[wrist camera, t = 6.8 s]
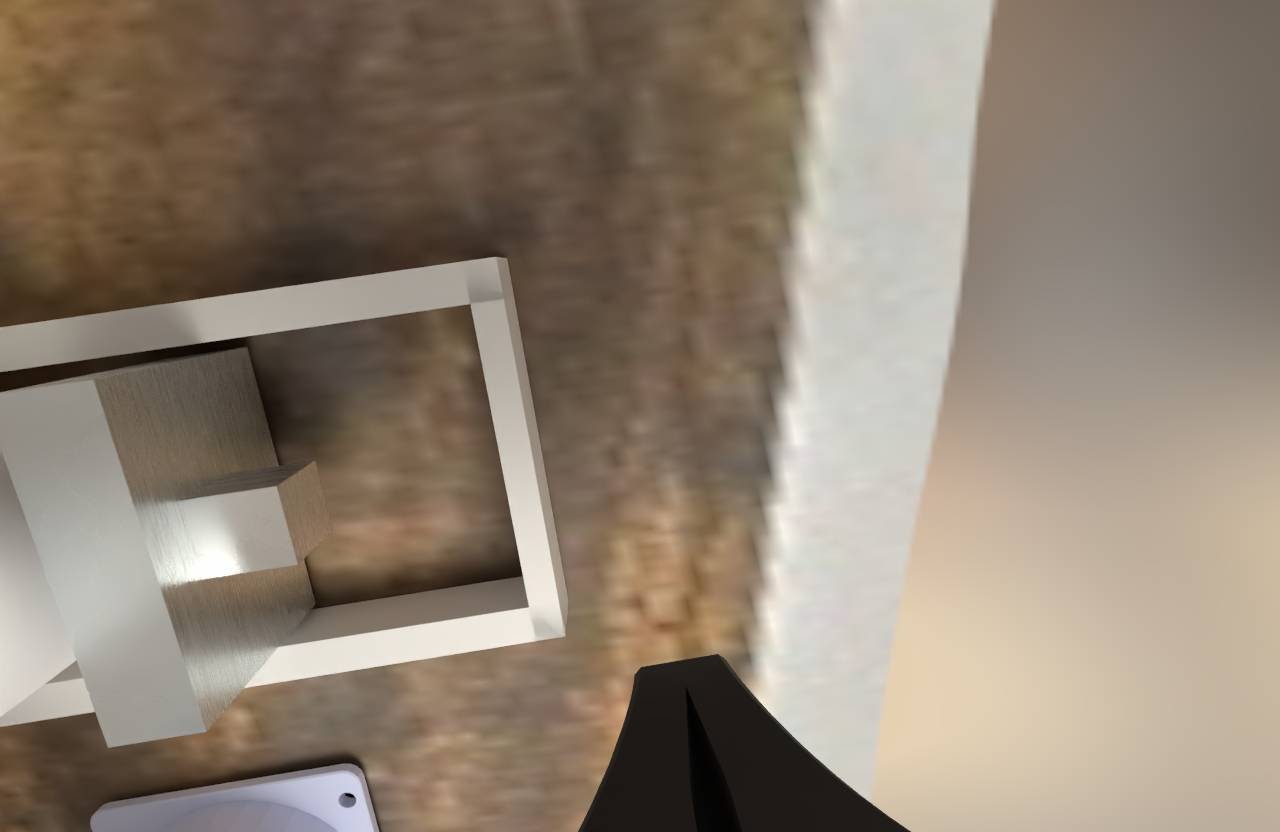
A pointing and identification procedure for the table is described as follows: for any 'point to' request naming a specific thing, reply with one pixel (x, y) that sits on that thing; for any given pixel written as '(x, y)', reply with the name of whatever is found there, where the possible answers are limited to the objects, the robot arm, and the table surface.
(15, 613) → the can
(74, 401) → the sliding jaw
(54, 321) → the grey open tray
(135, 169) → the table surface
